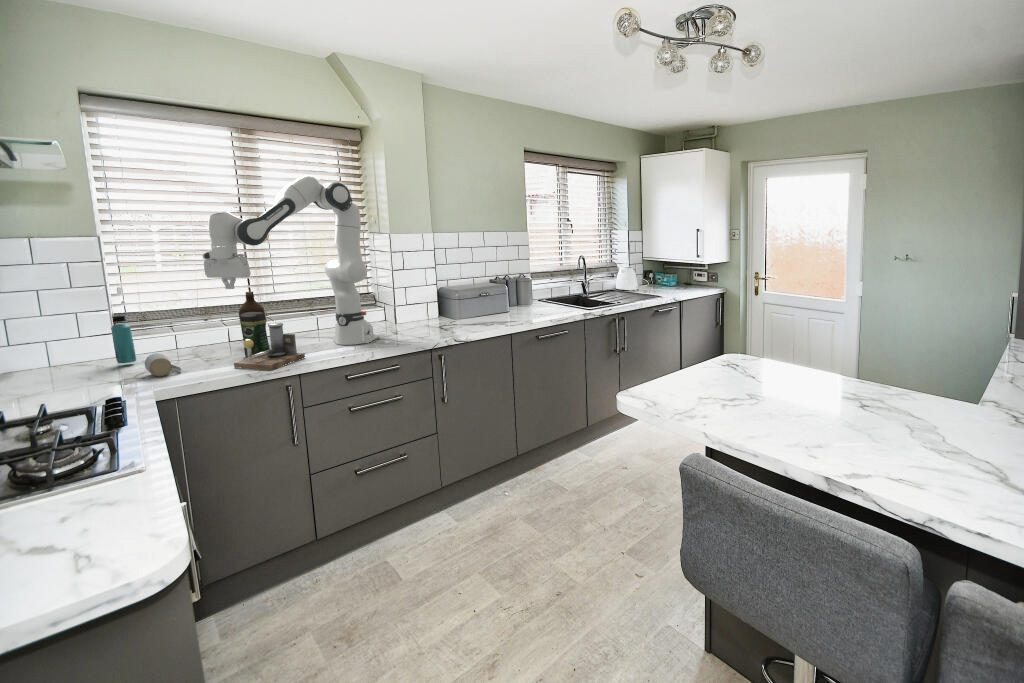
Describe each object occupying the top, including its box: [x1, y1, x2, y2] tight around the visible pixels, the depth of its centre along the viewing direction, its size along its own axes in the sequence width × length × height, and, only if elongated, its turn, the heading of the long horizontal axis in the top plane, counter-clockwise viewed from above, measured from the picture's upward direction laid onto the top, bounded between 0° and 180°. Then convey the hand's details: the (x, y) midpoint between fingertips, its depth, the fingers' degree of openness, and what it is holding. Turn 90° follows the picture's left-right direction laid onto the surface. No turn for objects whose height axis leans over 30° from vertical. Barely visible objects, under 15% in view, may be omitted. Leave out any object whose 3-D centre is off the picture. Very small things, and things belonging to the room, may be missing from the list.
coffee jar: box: [239, 312, 271, 357], centre depth 224 cm, size 10×8×19 cm
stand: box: [233, 333, 306, 371], centre depth 211 cm, size 20×17×10 cm
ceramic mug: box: [144, 353, 182, 378], centre depth 197 cm, size 11×8×8 cm
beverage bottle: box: [110, 315, 137, 364], centre depth 210 cm, size 6×7×20 cm
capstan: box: [242, 322, 286, 360], centre depth 208 cm, size 20×7×13 cm, turn 164°
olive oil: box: [238, 291, 266, 342], centre depth 241 cm, size 11×11×25 cm
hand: (230, 289), depth 212 cm, fingers closed
